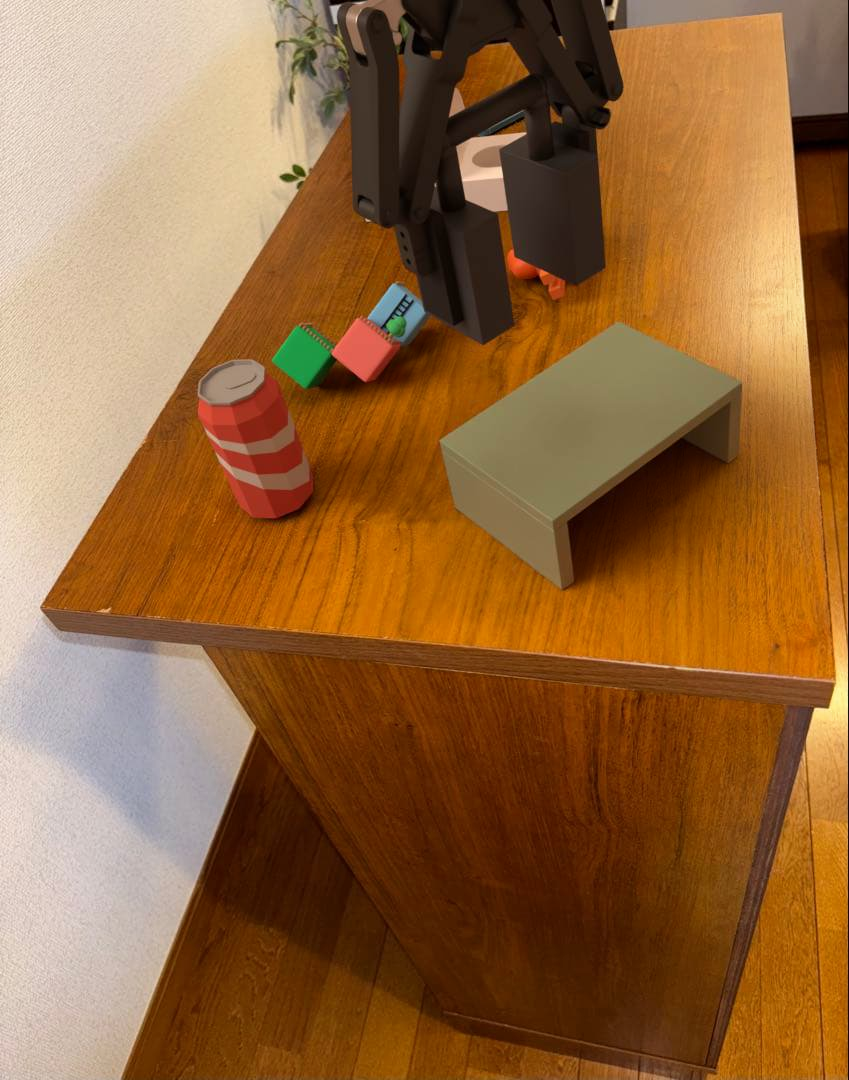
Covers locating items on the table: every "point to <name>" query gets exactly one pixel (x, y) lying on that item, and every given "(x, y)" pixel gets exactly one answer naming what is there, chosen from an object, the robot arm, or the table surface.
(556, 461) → the shelf
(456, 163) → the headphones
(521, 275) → the orange toy bird
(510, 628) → the table surface
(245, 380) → the beverage can
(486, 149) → the white thick notched block
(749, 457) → the table surface
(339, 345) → the building blocks
